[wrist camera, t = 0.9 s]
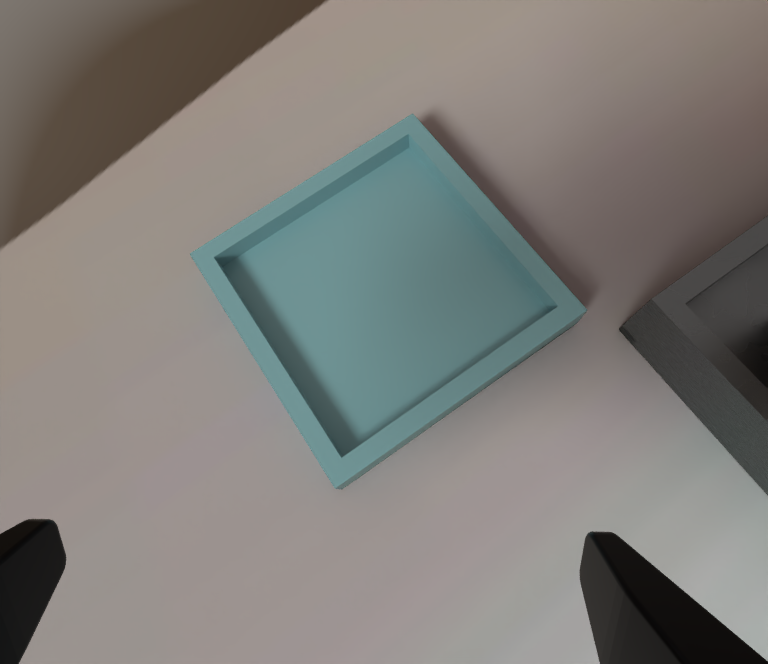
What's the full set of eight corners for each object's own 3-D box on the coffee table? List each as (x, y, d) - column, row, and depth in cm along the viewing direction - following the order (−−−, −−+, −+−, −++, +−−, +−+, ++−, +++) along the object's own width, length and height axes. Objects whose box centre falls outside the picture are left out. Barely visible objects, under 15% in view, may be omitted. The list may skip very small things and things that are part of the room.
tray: (576, 323, 22) (587, 310, 21) (342, 489, 21) (335, 488, 20) (413, 136, 26) (412, 113, 24) (204, 268, 25) (189, 253, 23)
